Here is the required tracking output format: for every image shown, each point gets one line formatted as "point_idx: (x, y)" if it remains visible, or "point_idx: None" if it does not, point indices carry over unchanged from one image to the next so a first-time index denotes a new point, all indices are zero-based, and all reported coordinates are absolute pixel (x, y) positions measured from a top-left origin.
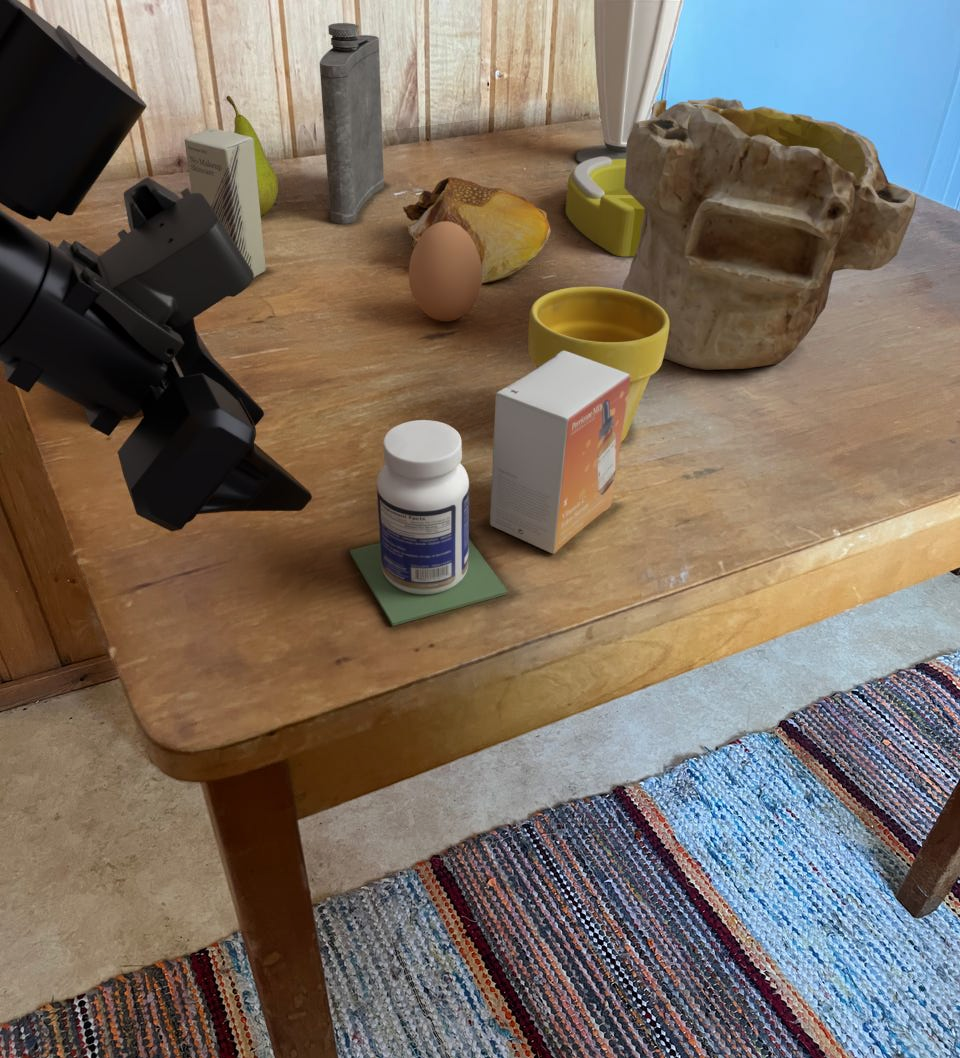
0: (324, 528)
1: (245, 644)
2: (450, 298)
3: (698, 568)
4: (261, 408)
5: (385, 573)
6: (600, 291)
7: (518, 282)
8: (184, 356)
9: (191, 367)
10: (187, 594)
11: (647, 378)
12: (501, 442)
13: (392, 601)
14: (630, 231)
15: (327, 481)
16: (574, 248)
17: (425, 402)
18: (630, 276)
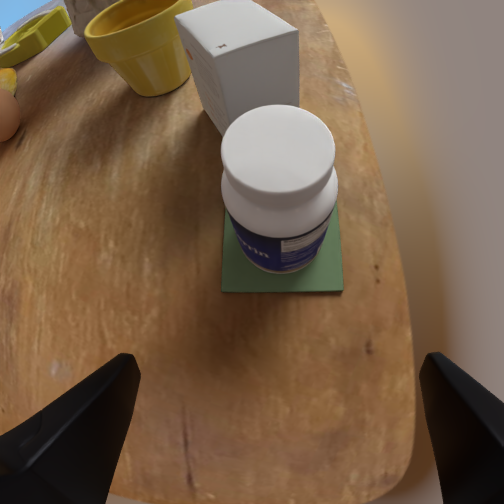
0: (172, 301)
1: (312, 425)
2: (10, 117)
3: (340, 76)
4: (120, 354)
5: (284, 272)
6: (107, 10)
7: (20, 92)
8: (36, 502)
9: (54, 487)
10: (217, 453)
11: None
12: (234, 95)
13: (314, 279)
14: (41, 37)
15: (108, 272)
16: (23, 66)
17: (66, 163)
18: (79, 25)
